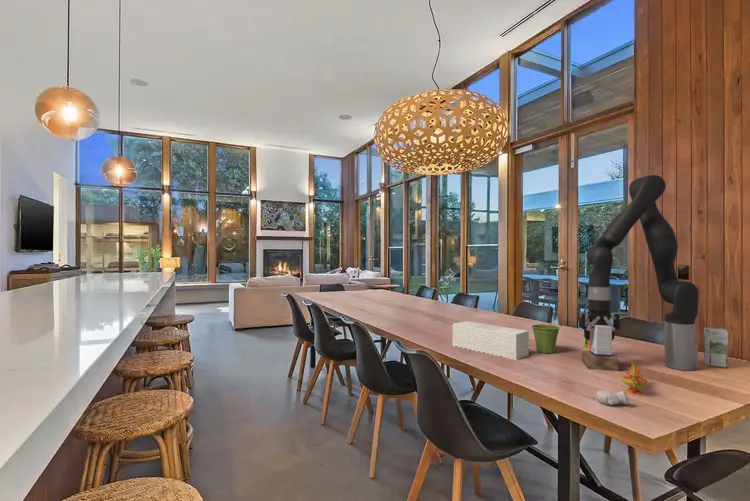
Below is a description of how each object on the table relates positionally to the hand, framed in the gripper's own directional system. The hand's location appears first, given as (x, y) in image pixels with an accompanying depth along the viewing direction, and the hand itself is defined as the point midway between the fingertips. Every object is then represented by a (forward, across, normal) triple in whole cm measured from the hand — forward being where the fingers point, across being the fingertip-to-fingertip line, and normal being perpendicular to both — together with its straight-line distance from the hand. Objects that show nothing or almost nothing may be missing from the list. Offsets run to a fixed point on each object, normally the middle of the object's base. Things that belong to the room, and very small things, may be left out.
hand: (599, 340), depth 151 cm
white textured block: (+11, +38, -21) cm, 45 cm away
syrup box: (+10, -46, -5) cm, 47 cm away
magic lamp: (+10, +2, +27) cm, 29 cm away
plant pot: (+10, +13, -21) cm, 27 cm away
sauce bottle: (+10, -3, -13) cm, 17 cm away
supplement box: (+6, 0, 0) cm, 6 cm away
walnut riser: (+10, 0, 0) cm, 10 cm away
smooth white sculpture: (+10, +15, +39) cm, 43 cm away
